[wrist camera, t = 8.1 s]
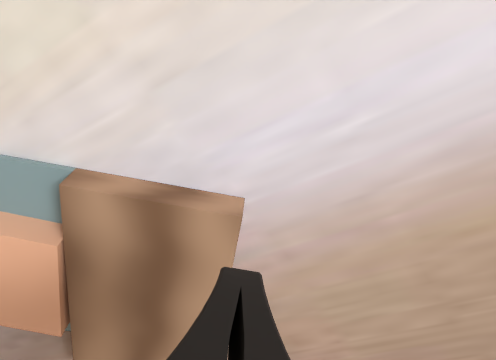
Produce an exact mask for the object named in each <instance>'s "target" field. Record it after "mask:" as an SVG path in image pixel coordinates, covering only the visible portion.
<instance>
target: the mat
mask: <svg viewBox="0 0 496 360" xmlns="http://www.w3.org/2000/svg"><path fill="white" fill-rule="evenodd" d="M75 169H76V168H73V167H67V166H61V165H56V164H50V163H45V162H39V161H33V160H28V159H22V158H17V157H11V156H5V155H0V211H2V212H7V213H12V214H17V215H22V216H27V217H32V218H36V219H41V220H46V221H51V222H56V223H61V224H62V216H61V204H60V192H59V184H60V183H61V182H62V181H63V180H64V179H65V178H66V177H67V176H68V175H69V174H71V173H72V172H73V171H74V170H75ZM65 331H71V327H70V323H69V324H68V326H67V328H66V330H65Z"/></svg>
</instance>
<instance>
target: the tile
mask: <svg viewBox="0 0 496 360" xmlns="http://www.w3.org/2000/svg"><path fill="white" fill-rule="evenodd" d="M69 323H70V315H69V302H68V290H67V278H66V265H65V253H64V241H63V229H62V224H61V223H56V222H51V221H46V220H41V219H36V218H32V217H27V216H22V215H17V214H12V213H7V212H2V211H0V325H1V326H6V327H11V328H17V329H22V330H27V331H33V332H38V333H43V334H49V335H54V336H59V337H61V336H62V335H63V333H64V331H65V330H66V328H67V326H68V324H69Z"/></svg>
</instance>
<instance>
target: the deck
mask: <svg viewBox="0 0 496 360" xmlns="http://www.w3.org/2000/svg"><path fill="white" fill-rule="evenodd" d="M59 192H60V204H61V216H62V229H63V241H64V253H65V265H66V278H67V290H68V302H69V315H70V327H71V339H72V351H73V360H166V359H167V358H168V357H169V355H170V354H171V353H172V352H173V350H174V349H175V348H176V347H177V345H178V344H179V343H180V341H181V340H182V339H183V337H184V336H185V335H186V333H187V332H188V330H189V329H190V327H191V326H192V324H193V323H194V321H195V320H196V318H197V317H198V315H199V314H200V312H201V311H202V309H203V307H204V305H205V303H206V302H207V300H208V298H209V296H210V295H211V293H212V291H213V288H214V286H215V284H216V282H217V279H218V277H219V274H220V270H221V268H223V267H230V268H232V266H233V261H234V256H235V251H236V246H237V241H238V236H239V231H240V226H241V222H242V216H243V208H244V200H245V198H241V197H235V196H229V195H224V194H218V193H213V192H207V191H201V190H196V189H190V188H185V187H179V186H173V185H168V184H162V183H157V182H151V181H145V180H140V179H134V178H129V177H123V176H117V175H112V174H106V173H101V172H95V171H89V170H84V169H78V168H76V169H75V170H74V171H73V172H72V173H71V174H69V175H68V176H67V177H66V178H65V179H64V180H63V181H62V182H61V183H60V184H59Z"/></svg>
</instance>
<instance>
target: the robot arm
mask: <svg viewBox="0 0 496 360" xmlns="http://www.w3.org/2000/svg"><path fill="white" fill-rule="evenodd" d="M228 345H229V349H228ZM227 355H228V360H290V358H289V356H288V353H287V351H286V349H285V347H284V344H283V342H282V340H281V337H280V335H279V332H278V330H277V327H276V324H275V321H274V319H273V316H272V313H271V310H270V307H269V304H268V300H267V297H266V293H265V289H264V285H263V280H262V275H261V274H260V273H259V272H253V271H247V270H242V269H236V268H230V267H223V268H221V270H220V274H219V277H218V279H217V282H216V284H215V286H214V288H213V291H212V293H211V295H210V296H209V298H208V300H207V302H206V303H205V305H204V307H203V309H202V311H201V312H200V314H199V315H198V317H197V318H196V320H195V321H194V323H193V324H192V326H191V327H190V329H189V330H188V332H187V333H186V335H185V336H184V337H183V339H182V340H181V341H180V343H179V344H178V345H177V347H176V348H175V349H174V350H173V352H172V353H171V354H170V355H169V357H168V358H167V359H166V360H227Z"/></svg>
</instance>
